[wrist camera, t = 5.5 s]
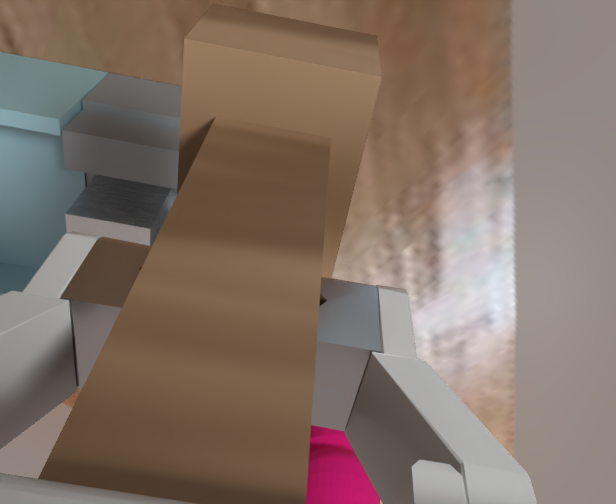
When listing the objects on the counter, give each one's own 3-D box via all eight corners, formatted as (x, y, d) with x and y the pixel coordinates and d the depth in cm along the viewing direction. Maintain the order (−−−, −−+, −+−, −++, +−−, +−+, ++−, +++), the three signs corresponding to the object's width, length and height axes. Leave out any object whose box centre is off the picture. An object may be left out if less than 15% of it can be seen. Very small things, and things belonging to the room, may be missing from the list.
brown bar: (213, 3, 14) (-110, 387, 4) (376, 36, 14) (433, 474, 4) (199, 199, 17) (-4, 676, 7) (332, 222, 17) (308, 718, 8)
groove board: (110, 72, 31) (61, 119, 26) (328, 114, 32) (323, 168, 27) (114, 250, 38) (76, 316, 33) (294, 281, 39) (284, 351, 34)
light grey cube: (95, 173, 30) (65, 213, 27) (171, 187, 31) (150, 228, 27) (98, 236, 33) (70, 279, 30) (169, 248, 33) (149, 293, 30)
